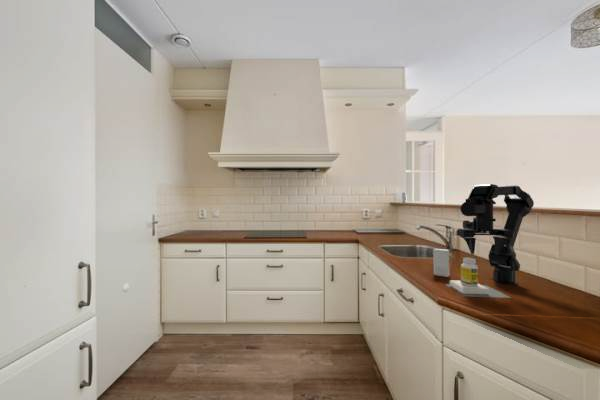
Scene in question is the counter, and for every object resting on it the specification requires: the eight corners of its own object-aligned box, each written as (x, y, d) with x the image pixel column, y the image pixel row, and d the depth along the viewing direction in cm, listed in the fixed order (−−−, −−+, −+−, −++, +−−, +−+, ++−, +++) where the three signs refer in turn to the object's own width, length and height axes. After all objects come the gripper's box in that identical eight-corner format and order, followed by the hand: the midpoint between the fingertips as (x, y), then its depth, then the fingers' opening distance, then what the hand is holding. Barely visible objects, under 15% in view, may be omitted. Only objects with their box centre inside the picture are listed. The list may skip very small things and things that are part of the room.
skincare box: (449, 275, 115) (449, 249, 115) (448, 278, 111) (448, 250, 111) (434, 273, 119) (434, 247, 119) (432, 275, 115) (432, 249, 115)
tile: (473, 280, 99) (449, 280, 100) (488, 288, 90) (462, 288, 91) (473, 286, 99) (449, 285, 100) (488, 295, 90) (462, 294, 91)
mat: (486, 286, 101) (486, 285, 101) (511, 298, 88) (511, 297, 88) (445, 285, 102) (445, 284, 102) (463, 297, 89) (463, 296, 89)
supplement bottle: (472, 287, 91) (473, 260, 91) (457, 283, 96) (457, 257, 96) (480, 285, 94) (481, 259, 94) (465, 281, 99) (465, 256, 99)
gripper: (494, 214, 108) (494, 250, 108) (449, 214, 109) (449, 250, 109) (514, 216, 97) (514, 256, 97) (464, 216, 98) (464, 255, 98)
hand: (484, 254), depth 100 cm, fingers open, 9 cm apart
